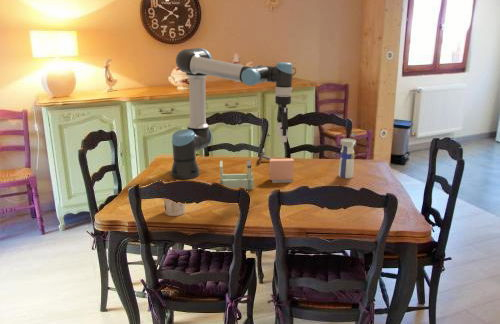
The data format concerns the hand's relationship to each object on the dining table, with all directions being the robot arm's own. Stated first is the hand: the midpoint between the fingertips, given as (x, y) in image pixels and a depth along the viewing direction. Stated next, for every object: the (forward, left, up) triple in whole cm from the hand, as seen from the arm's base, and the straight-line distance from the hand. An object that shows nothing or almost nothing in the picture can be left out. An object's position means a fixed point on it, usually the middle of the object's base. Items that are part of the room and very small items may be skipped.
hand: (281, 138), depth 205 cm
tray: (0, +1, -22) cm, 22 cm away
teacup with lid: (-50, -37, -22) cm, 66 cm away
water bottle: (+35, +5, -22) cm, 42 cm away
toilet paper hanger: (-4, +26, -23) cm, 35 cm away
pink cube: (0, +1, -21) cm, 21 cm away
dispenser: (-23, -7, -22) cm, 33 cm away
